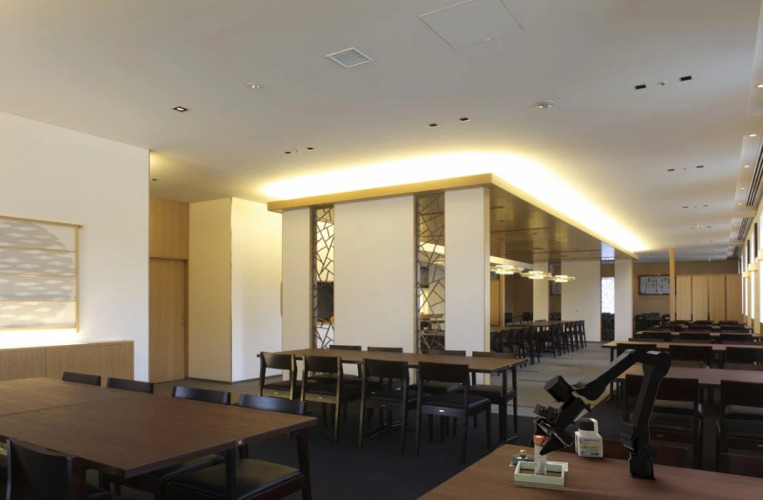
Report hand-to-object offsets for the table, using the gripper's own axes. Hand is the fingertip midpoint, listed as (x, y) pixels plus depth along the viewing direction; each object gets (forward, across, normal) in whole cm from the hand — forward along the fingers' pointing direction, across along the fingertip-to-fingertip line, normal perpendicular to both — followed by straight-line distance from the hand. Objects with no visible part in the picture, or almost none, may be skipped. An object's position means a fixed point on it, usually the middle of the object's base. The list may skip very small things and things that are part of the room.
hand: (534, 450), depth 166 cm
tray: (+5, 0, +7) cm, 9 cm away
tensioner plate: (+2, -12, +10) cm, 16 cm away
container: (-14, -23, +26) cm, 37 cm away
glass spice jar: (+5, 0, +7) cm, 8 cm away
